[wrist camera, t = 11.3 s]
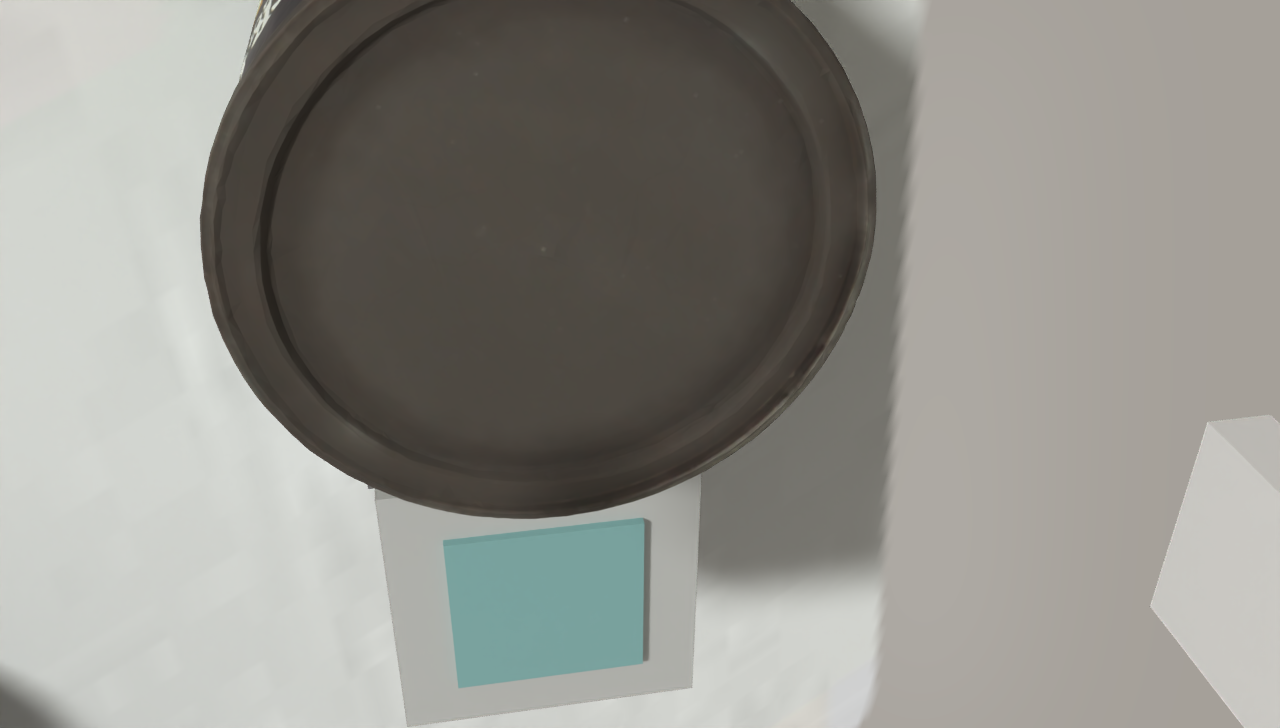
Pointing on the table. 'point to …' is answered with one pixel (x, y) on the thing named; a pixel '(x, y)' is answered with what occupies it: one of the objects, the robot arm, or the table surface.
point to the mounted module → (540, 604)
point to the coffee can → (534, 238)
